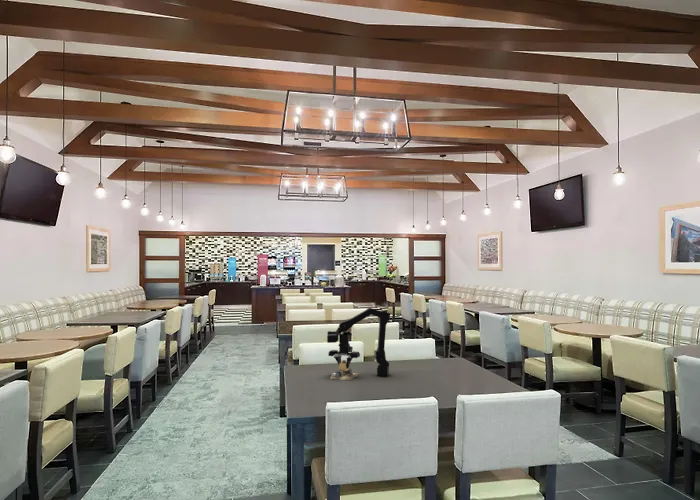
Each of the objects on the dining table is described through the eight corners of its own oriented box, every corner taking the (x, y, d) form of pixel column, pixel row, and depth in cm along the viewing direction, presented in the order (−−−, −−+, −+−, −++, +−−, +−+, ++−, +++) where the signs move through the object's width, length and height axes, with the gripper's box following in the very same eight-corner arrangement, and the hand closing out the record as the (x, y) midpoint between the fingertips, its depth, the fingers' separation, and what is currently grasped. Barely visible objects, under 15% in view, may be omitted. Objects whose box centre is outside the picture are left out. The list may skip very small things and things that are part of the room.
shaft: (336, 375, 258) (336, 370, 258) (342, 376, 255) (342, 371, 255) (329, 376, 254) (329, 371, 255) (335, 378, 251) (335, 373, 251)
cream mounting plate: (358, 374, 265) (358, 367, 265) (348, 380, 250) (348, 373, 250) (341, 372, 269) (341, 366, 270) (330, 378, 255) (330, 371, 255)
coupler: (349, 369, 260) (348, 360, 260) (346, 371, 256) (346, 361, 256) (342, 368, 262) (342, 359, 262) (339, 370, 258) (339, 360, 258)
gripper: (363, 341, 263) (363, 366, 263) (335, 339, 271) (335, 364, 270) (356, 344, 253) (356, 370, 252) (327, 342, 260) (328, 368, 260)
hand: (344, 368), depth 259 cm, fingers closed on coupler, 4 cm apart
